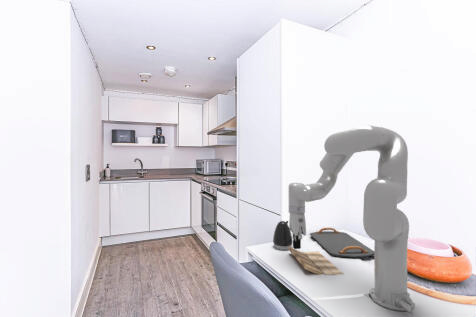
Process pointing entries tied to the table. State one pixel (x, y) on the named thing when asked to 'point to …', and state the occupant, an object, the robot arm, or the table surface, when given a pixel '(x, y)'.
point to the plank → (305, 261)
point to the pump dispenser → (282, 236)
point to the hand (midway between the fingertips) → (296, 248)
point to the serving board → (341, 244)
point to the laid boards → (323, 263)
